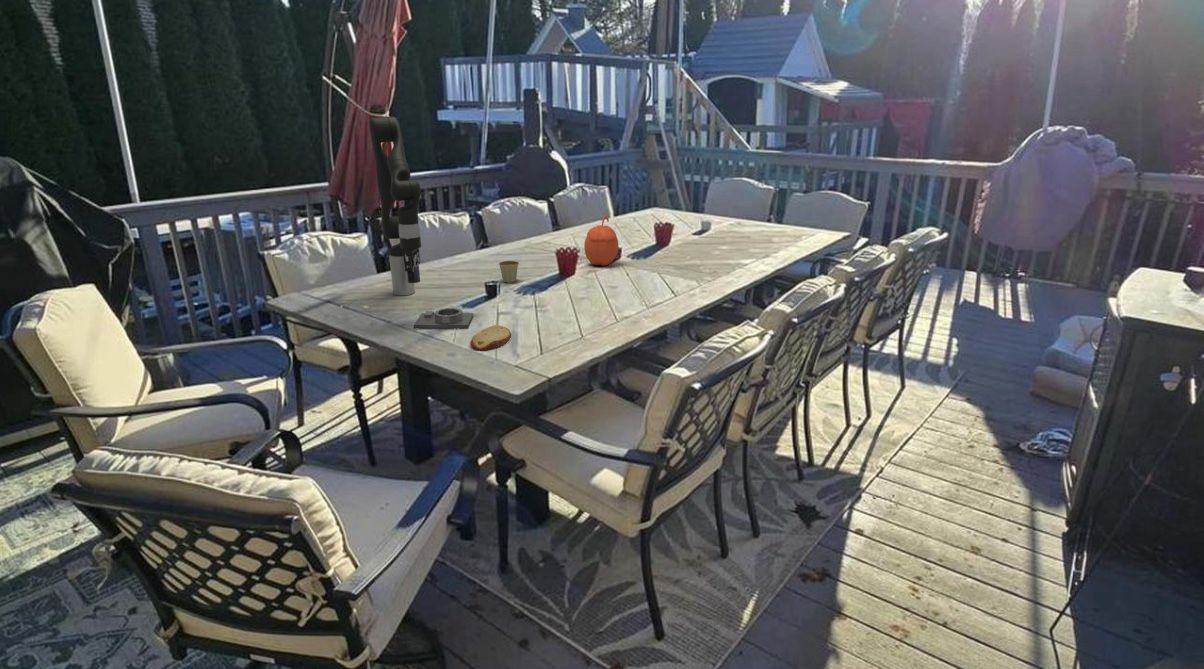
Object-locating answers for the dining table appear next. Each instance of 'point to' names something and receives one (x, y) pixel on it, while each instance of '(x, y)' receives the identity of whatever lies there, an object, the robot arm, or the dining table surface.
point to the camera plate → (429, 322)
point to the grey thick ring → (448, 316)
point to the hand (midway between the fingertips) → (413, 278)
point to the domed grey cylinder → (415, 274)
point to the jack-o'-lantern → (601, 244)
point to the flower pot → (509, 270)
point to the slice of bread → (490, 338)
